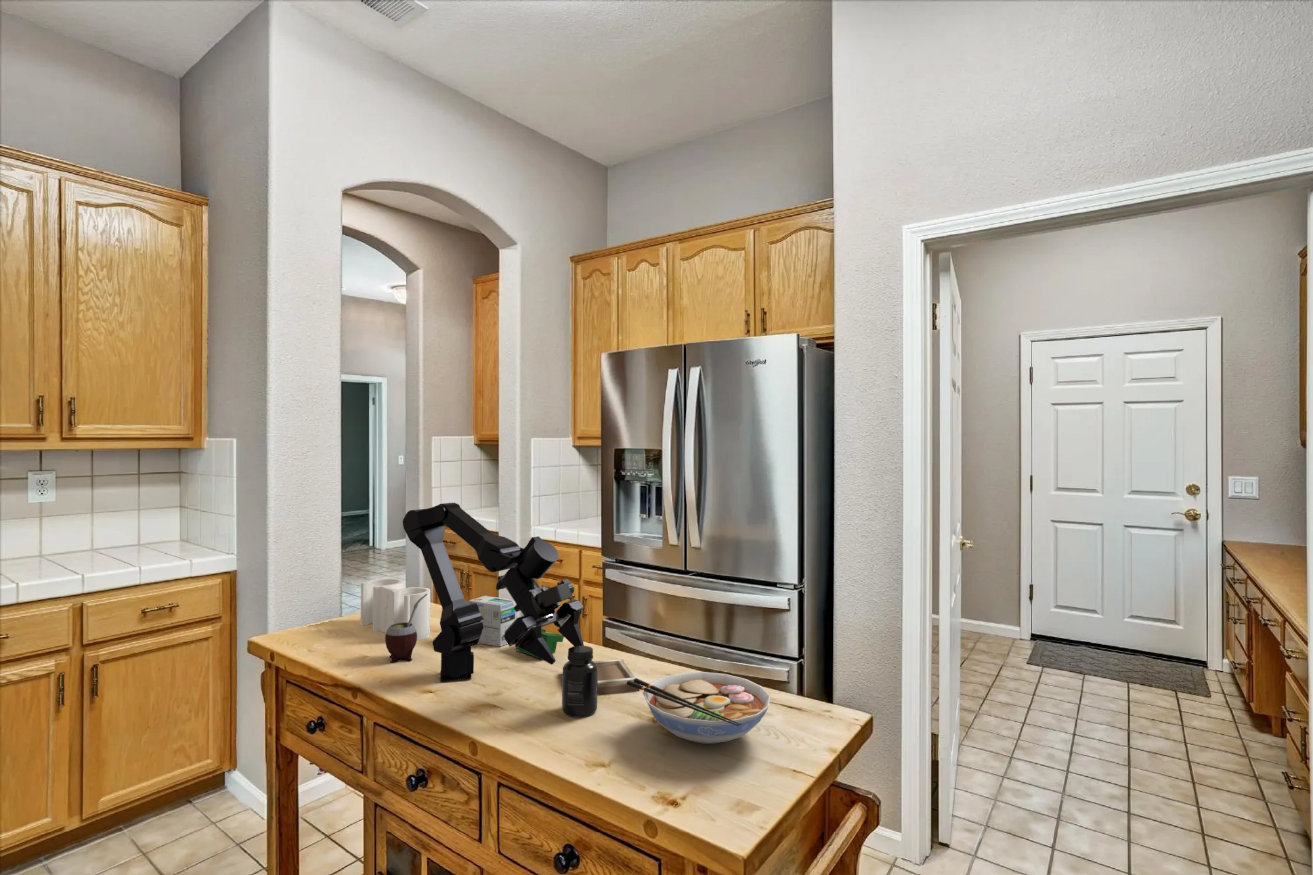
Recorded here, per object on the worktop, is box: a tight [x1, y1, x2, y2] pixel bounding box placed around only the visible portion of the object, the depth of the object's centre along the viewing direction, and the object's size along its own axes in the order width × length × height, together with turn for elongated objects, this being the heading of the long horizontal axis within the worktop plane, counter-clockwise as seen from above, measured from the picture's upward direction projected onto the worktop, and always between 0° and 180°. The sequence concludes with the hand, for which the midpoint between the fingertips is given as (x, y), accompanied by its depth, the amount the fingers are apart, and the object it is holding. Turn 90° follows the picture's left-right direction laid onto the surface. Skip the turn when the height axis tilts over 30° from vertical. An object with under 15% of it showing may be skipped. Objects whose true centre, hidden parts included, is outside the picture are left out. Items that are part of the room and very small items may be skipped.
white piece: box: [360, 577, 431, 642], centre depth 178 cm, size 25×10×12 cm, turn 50°
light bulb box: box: [468, 595, 517, 647], centre depth 169 cm, size 11×7×11 cm, turn 65°
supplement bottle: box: [561, 645, 598, 718], centre depth 127 cm, size 7×7×12 cm
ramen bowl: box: [627, 671, 771, 745], centre depth 117 cm, size 25×23×8 cm
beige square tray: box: [594, 658, 641, 696], centre depth 142 cm, size 14×14×2 cm
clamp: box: [514, 628, 565, 659], centre depth 161 cm, size 12×6×9 cm, turn 42°
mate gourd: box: [384, 594, 427, 664], centre depth 155 cm, size 8×8×15 cm
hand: (568, 656), depth 128 cm, fingers open, 9 cm apart
